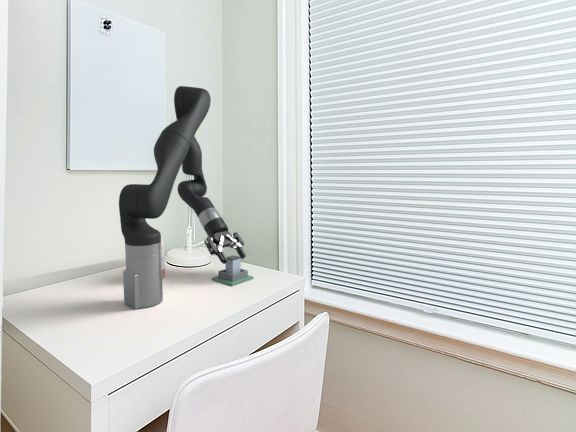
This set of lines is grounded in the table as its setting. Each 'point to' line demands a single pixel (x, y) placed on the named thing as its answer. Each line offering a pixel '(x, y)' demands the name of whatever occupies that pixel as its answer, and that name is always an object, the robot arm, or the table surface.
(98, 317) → the table surface
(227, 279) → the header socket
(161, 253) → the ink cartridge box
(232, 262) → the block
